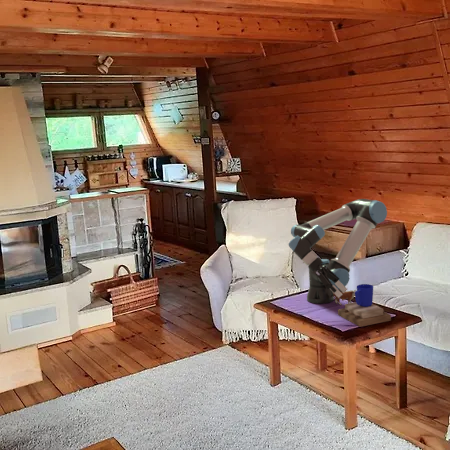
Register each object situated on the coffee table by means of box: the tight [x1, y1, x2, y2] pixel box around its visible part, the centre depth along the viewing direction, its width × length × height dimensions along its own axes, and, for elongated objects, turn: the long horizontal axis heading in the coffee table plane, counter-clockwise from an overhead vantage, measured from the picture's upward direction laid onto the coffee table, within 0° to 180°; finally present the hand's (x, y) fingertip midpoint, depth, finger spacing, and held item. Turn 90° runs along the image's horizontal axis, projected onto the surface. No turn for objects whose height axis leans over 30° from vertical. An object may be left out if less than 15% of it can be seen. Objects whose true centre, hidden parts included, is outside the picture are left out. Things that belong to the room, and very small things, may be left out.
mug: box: [354, 283, 374, 307], centre depth 286 cm, size 8×12×10 cm
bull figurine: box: [333, 289, 357, 306], centre depth 309 cm, size 4×13×8 cm, turn 78°
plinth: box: [337, 301, 392, 328], centre depth 287 cm, size 20×18×6 cm
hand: (343, 293), depth 288 cm, fingers open, 10 cm apart
